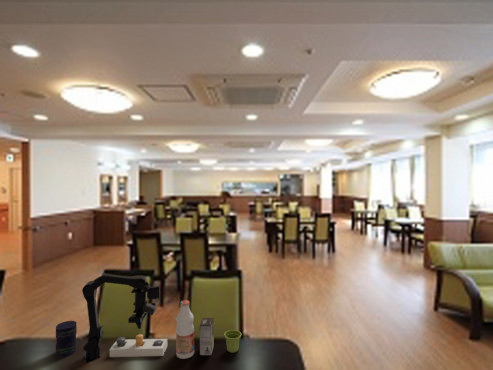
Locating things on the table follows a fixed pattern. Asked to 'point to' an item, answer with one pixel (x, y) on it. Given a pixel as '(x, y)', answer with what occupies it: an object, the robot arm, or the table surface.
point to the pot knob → (139, 340)
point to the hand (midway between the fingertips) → (139, 328)
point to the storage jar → (66, 338)
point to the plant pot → (232, 340)
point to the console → (138, 348)
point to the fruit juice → (184, 332)
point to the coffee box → (206, 336)
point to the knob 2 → (158, 343)
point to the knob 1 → (120, 342)
